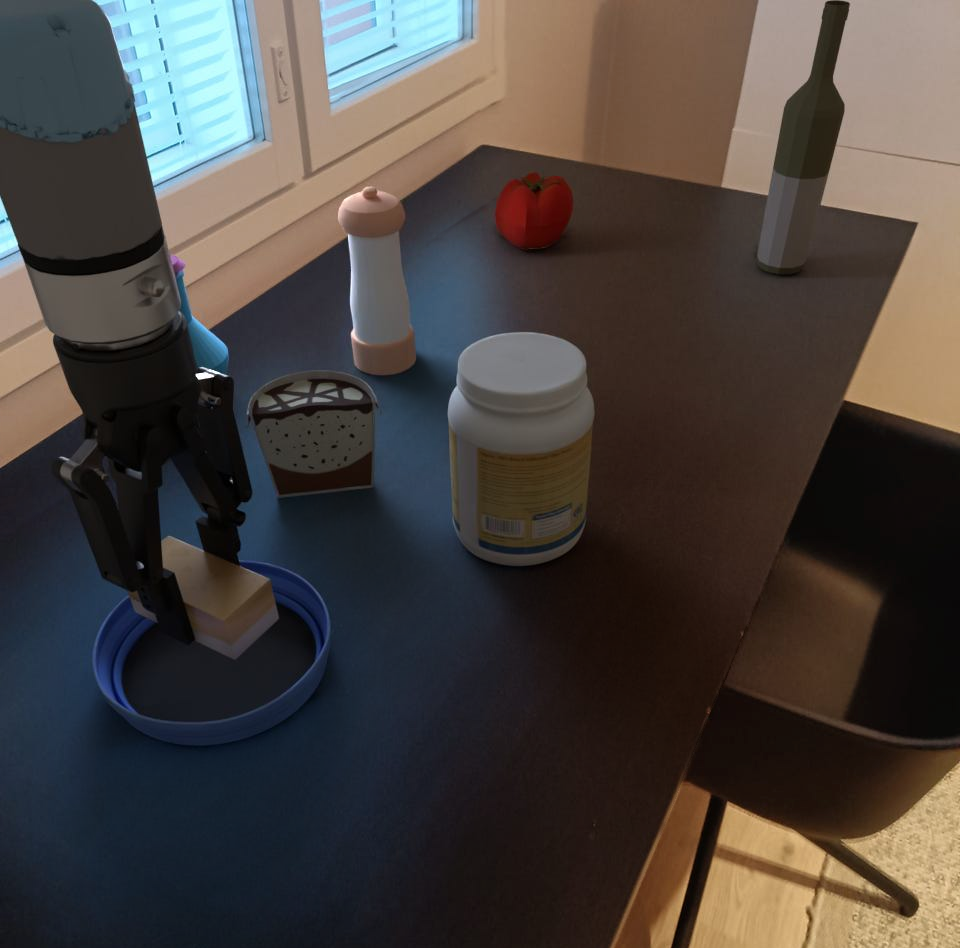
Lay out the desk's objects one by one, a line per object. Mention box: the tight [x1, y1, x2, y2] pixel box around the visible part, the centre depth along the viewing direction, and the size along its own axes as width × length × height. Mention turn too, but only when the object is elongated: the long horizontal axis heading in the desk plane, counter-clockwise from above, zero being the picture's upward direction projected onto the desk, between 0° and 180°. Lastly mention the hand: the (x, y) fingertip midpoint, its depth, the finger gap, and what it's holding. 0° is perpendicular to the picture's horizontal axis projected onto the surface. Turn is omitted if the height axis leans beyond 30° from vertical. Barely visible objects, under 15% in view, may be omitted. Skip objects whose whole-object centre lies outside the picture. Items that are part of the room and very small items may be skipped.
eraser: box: [126, 535, 279, 660], centre depth 69 cm, size 10×5×4 cm, turn 59°
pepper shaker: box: [337, 186, 417, 376], centre depth 101 cm, size 7×7×19 cm
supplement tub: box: [447, 331, 596, 567], centre depth 80 cm, size 12×12×17 cm
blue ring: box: [91, 559, 333, 747], centre depth 72 cm, size 18×18×4 cm
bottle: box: [756, 0, 851, 275], centre depth 114 cm, size 7×7×30 cm
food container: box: [245, 369, 383, 499], centre depth 89 cm, size 12×6×10 cm, turn 100°
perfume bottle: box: [169, 253, 230, 375], centre depth 98 cm, size 9×9×15 cm
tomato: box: [494, 171, 574, 249], centre depth 128 cm, size 11×11×9 cm
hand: (204, 612), depth 70 cm, fingers closed on eraser, 5 cm apart
